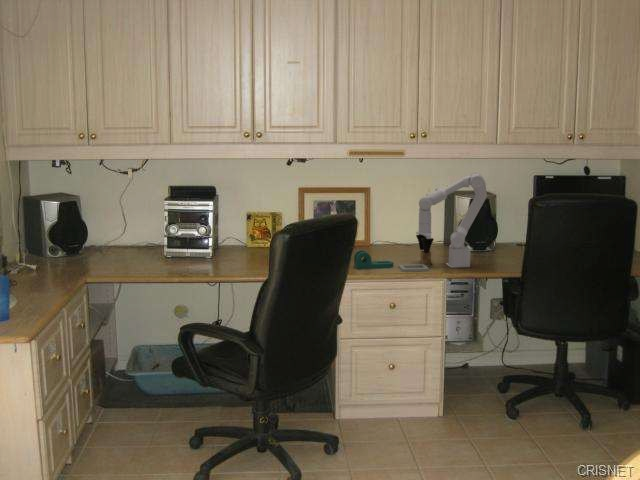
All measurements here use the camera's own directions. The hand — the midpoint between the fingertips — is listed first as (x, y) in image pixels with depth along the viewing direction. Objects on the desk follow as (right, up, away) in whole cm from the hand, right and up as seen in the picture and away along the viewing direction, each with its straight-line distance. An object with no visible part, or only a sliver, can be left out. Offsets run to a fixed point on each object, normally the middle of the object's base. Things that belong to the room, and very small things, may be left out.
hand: (424, 251), depth 325 cm
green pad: (0, -6, +1) cm, 7 cm away
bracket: (-24, -8, -2) cm, 25 cm away
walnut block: (+1, -6, +1) cm, 6 cm away
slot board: (-6, -8, -7) cm, 13 cm away
